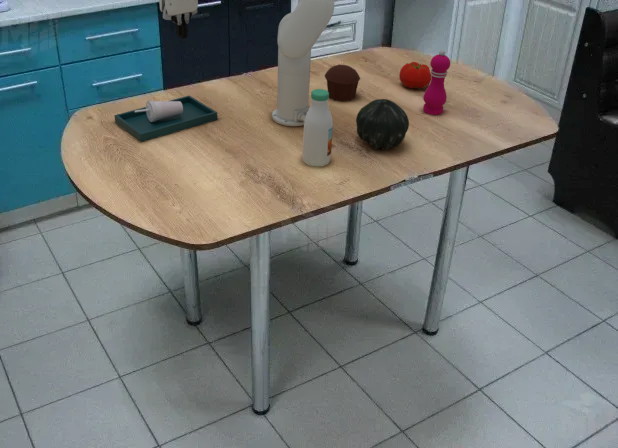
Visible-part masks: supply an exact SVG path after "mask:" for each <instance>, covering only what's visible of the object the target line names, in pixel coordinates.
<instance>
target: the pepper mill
mask: <svg viewBox="0 0 618 448" xmlns="http://www.w3.org/2000/svg"><path fill="white" fill-rule="evenodd" d="M450 67H451V59H450V57H449V56H447V55H446V52H445V50H443V49H441V50H439V52H438V54H436V55H434V56H433V57H432V58H431V60H430V68H431V69H430V72H431V81H430V83H429V84H428V86H427V87H426V89H425V92H424V93H423V98H422V100H423V102H424V104H423V109H422V110H423V113H425V114H427V115H430V116H439V115H442V114H443V112H444V108H445V107H444V105H445V104H446V103H447V91H446V88H445V79H446V78H447V76H448V70H449V69H450Z"/></svg>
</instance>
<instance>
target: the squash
mask: <svg viewBox="0 0 618 448" xmlns="http://www.w3.org/2000/svg"><path fill="white" fill-rule="evenodd" d="M355 123H356V134H357V136H358V137H359V139H360V140H362V142H364V143H365V144H367V145H370V146H371V147H372V149H374V150H378V149H380V148H381V149H382V150H385V151H386V150H388V149H390V148H394V147H397V146H400V144H402V143H403V142H404V141H405V138H406V134H407V132H408V130H409V126H410V121H409V117H408V114H407V113H406V111H405V110H404V109H403V108H402V107H401V106H400V105H398V104H397V103H396V102H394V101H392V100H391V99H387V98H378V99H374V100H372V101H370V102H368V103H367V104H366V105H363V107H361V108H360V110H358V113H357V115H356V118H355Z"/></svg>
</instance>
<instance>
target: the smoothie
mask: <svg viewBox="0 0 618 448" xmlns="http://www.w3.org/2000/svg"><path fill="white" fill-rule="evenodd" d="M145 107H146V109H143V110H136V109H135V110H136V111H134V112H143V111H146V113H147V117H148V119H149V121H150V122H155V121H156V120H160V119H164V118H168V117H171V116H175V115H179V114H182V113H183V106H182V103H181V102H180V101H170V100H152V99H150V100H147V101H146V103H145Z"/></svg>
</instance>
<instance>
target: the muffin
mask: <svg viewBox="0 0 618 448" xmlns="http://www.w3.org/2000/svg"><path fill="white" fill-rule="evenodd" d="M324 78H325V81H326V88H327V91H328V92H329V98H328V99H331V100H333V101H336V102H347V101H348V102H349V101H352V100H353V99H355V97H356V93H357V89H358V85H359V81H360V80H361V77H360V75H359V73H358V72H357V70H356V69H355V68H353V67H352V66H350V65H347V64H337V65H336V64H335V65H334V66H331V67H330V68H329V69H328V70H327V71H326V72H325V74H324Z"/></svg>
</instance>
